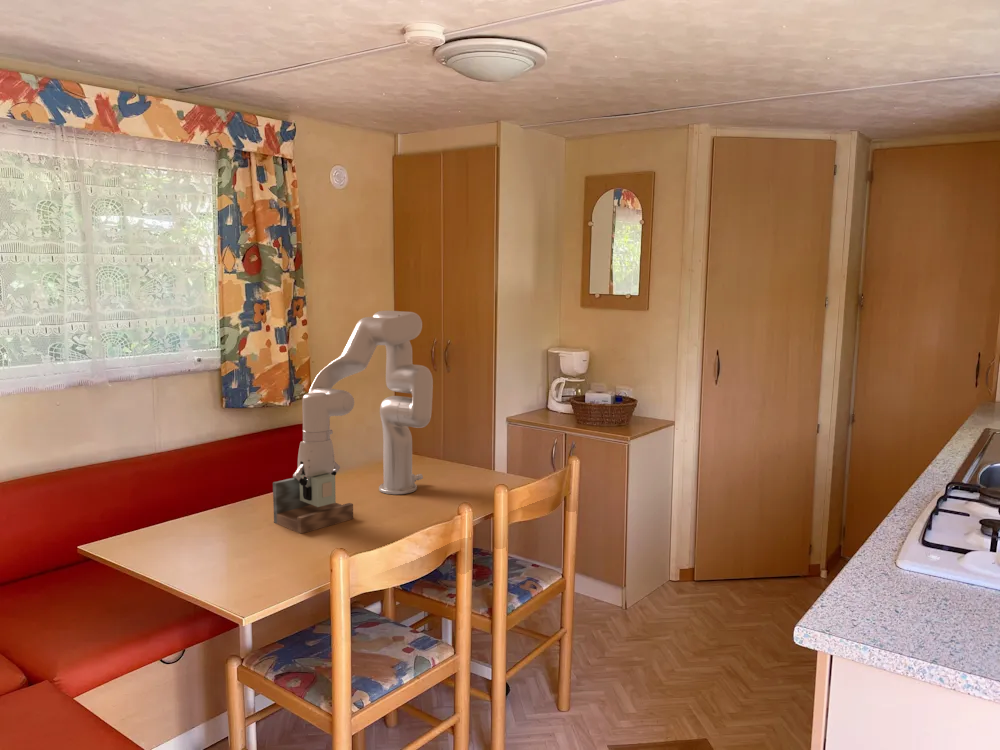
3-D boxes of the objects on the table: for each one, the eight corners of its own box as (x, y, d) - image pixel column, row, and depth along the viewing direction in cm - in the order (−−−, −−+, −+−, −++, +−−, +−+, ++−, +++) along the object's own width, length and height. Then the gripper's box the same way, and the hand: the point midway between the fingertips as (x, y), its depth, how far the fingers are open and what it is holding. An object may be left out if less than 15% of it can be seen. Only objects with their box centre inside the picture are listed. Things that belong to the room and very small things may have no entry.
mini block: (317, 496, 230) (316, 469, 229) (336, 502, 224) (335, 475, 223) (299, 500, 225) (299, 473, 224) (318, 507, 219) (318, 479, 218)
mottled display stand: (325, 508, 238) (324, 470, 237) (353, 518, 229) (352, 479, 228) (273, 522, 225) (272, 482, 223) (301, 533, 216) (300, 492, 214)
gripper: (333, 429, 231) (334, 488, 233) (282, 438, 218) (284, 500, 221) (349, 433, 226) (349, 493, 228) (298, 442, 213) (299, 506, 216)
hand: (317, 496), depth 224 cm, fingers closed on mini block, 6 cm apart
